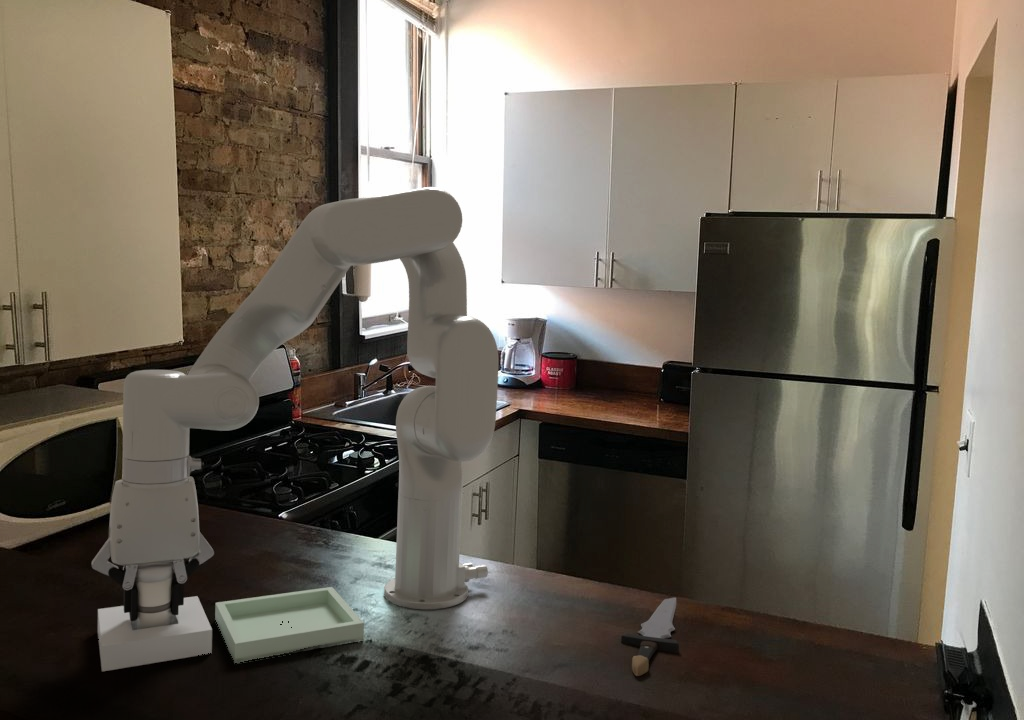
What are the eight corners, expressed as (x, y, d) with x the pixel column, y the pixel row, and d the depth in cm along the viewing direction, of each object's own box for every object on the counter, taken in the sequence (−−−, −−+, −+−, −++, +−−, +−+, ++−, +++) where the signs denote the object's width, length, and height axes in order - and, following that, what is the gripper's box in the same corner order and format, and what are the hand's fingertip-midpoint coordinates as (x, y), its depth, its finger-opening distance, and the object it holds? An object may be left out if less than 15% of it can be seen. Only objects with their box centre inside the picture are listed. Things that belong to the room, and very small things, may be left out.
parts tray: (331, 603, 116) (332, 586, 115) (363, 641, 103) (364, 622, 103) (215, 620, 108) (215, 602, 108) (234, 663, 96) (235, 643, 95)
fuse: (169, 633, 103) (170, 557, 102) (173, 646, 100) (174, 568, 99) (133, 638, 101) (134, 561, 100) (136, 652, 97) (137, 572, 97)
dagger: (615, 678, 98) (616, 661, 97) (630, 589, 129) (630, 576, 129) (678, 687, 96) (679, 670, 96) (677, 594, 127) (678, 582, 127)
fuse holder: (197, 617, 108) (197, 596, 108) (211, 653, 98) (212, 629, 98) (97, 631, 103) (97, 609, 102) (101, 671, 92) (102, 646, 92)
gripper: (221, 460, 106) (218, 594, 107) (78, 468, 98) (77, 613, 99) (232, 472, 100) (229, 615, 101) (79, 481, 91) (78, 637, 93)
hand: (153, 612), depth 100 cm, fingers closed on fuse, 4 cm apart
